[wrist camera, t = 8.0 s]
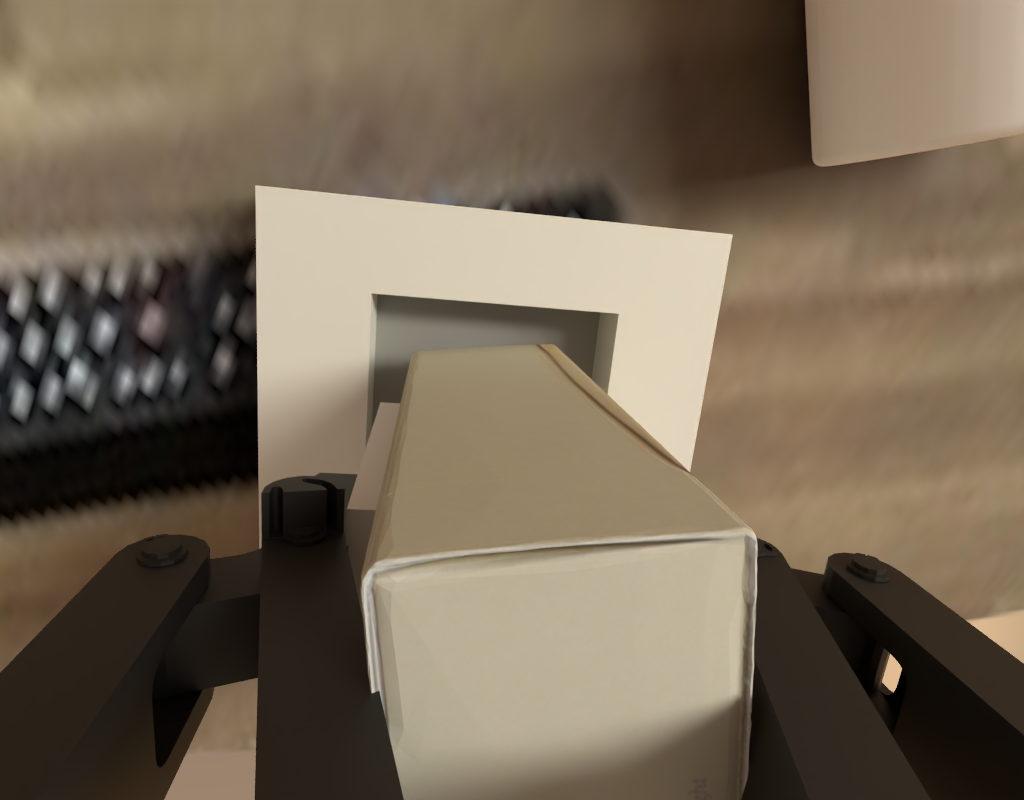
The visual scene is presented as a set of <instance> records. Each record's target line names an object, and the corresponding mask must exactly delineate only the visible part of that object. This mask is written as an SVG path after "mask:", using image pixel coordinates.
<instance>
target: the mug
mask: <svg viewBox="0 0 1024 800" xmlns="http://www.w3.org/2000/svg"><path fill="white" fill-rule="evenodd" d="M805 17H806V38H807V60H808V81H809V102H810V124H811V145H812V160H813V162H814V164H816V165H817V166H821V167H825V166H835V165H842V164H849V163H856V162H863V161H869V160H875V159H882V158H888V157H894V156H900V155H906V154H912V153H918V152H923V151H929V150H935V149H941V148H947V147H952V146H958V145H964V144H969V143H975V142H980V141H986V140H992V139H997V138H1003V137H1008V136H1014V135H1019V134H1024V0H805Z"/></svg>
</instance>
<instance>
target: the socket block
mask: <svg viewBox="0 0 1024 800" xmlns="http://www.w3.org/2000/svg"><path fill="white" fill-rule="evenodd" d="M255 187H256V284H257V382H258V479H259V549H261V546H262V519H261V493H262V491H263V489H264V487H265V486H267V485H269V484H270V483H272V482H274V481H277V480H280V479H284V478H287V477H296V476H315V475H317V474H319V473H340V474H358V472H359V469H360V466H361V462H362V459H363V456H364V453H365V450H366V446H367V443H368V440H369V437H370V434H371V431H372V427H373V424H374V421H375V418H376V415H377V412H378V408H379V405H380V402H384V403H401V399H402V394H403V390H404V386H405V382H406V377H407V373H408V369H409V364H410V359H411V357H412V355H413V354H414V353H416V352H419V351H429V350H443V349H457V348H475V347H492V346H512V345H541V344H553V345H555V346H557V347H558V348H559V349H560V350H561V351H562V352H563V353H564V354H565V355H566V356H567V357H568V358H569V359H570V360H572V361H573V362H574V363H575V364H576V365H577V366H578V367H579V368H580V369H581V370H582V371H583V372H584V373H585V374H586V375H587V376H588V377H590V378H591V379H592V380H593V381H594V382H595V383H596V384H597V385H598V386H599V387H600V388H602V389H603V390H604V391H605V392H606V393H607V394H608V395H609V396H610V397H611V398H612V399H613V400H614V401H615V402H616V403H617V404H618V405H619V406H620V407H621V408H623V409H624V410H625V411H626V412H627V413H628V414H629V415H630V416H631V417H632V418H633V419H634V420H635V421H636V422H637V423H639V424H640V425H641V426H642V427H643V428H644V429H645V430H646V431H647V432H648V433H649V434H650V435H651V436H652V437H653V438H654V439H656V440H657V441H658V442H659V443H660V444H661V445H662V446H663V447H664V448H665V449H666V450H667V451H668V452H669V453H670V454H671V455H672V456H673V457H675V458H676V459H677V460H678V461H679V462H680V463H681V464H682V465H683V466H684V467H685V468H686V469H687V470H688V471H689V472H690V468H691V463H692V457H693V452H694V446H695V441H696V435H697V430H698V424H699V419H700V413H701V408H702V402H703V397H704V391H705V385H706V380H707V374H708V369H709V363H710V358H711V352H712V347H713V341H714V336H715V330H716V325H717V319H718V314H719V308H720V303H721V297H722V292H723V286H724V281H725V275H726V269H727V264H728V258H729V253H730V247H731V242H732V236H733V235H731V234H722V233H712V232H702V231H693V230H683V229H673V228H664V227H654V226H644V225H635V224H625V223H615V222H605V221H596V220H586V219H576V218H567V217H557V216H547V215H538V214H528V213H518V212H509V211H499V210H489V209H480V208H470V207H460V206H450V205H441V204H431V203H421V202H412V201H402V200H392V199H383V198H373V197H363V196H354V195H344V194H334V193H324V192H315V191H305V190H295V189H286V188H276V187H266V186H257V185H255Z"/></svg>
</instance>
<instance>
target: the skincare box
mask: <svg viewBox="0 0 1024 800" xmlns="http://www.w3.org/2000/svg"><path fill="white" fill-rule="evenodd" d="M757 553H758V545H757V538H756V535H755V533H754V532H753V530H752V529H751V528H750V527H749V526H747V525H746V524H745V523H744V522H743V521H742V520H741V519H740V518H739V517H738V516H737V515H736V514H735V513H734V512H733V511H732V510H731V509H729V508H728V507H727V506H726V505H725V504H724V503H723V502H722V501H721V500H720V499H718V498H717V497H716V496H715V495H714V494H713V493H712V492H711V491H710V490H709V489H707V488H706V487H705V486H704V485H703V484H702V483H701V482H700V481H699V480H698V479H697V478H696V477H695V476H694V475H693V474H692V473H690V472H689V471H688V470H687V469H686V468H685V467H684V466H683V465H682V464H681V463H680V462H679V461H678V460H677V459H676V458H675V457H673V456H672V455H671V454H670V453H669V452H668V451H667V450H666V449H665V448H664V447H663V446H662V445H661V444H660V443H659V442H658V441H657V440H656V439H654V438H653V437H652V436H651V435H650V434H649V433H648V432H647V431H646V430H645V429H644V428H643V427H642V426H641V425H640V424H639V423H637V422H636V421H635V420H634V419H633V418H632V417H631V416H630V415H629V414H628V413H627V412H626V411H625V410H624V409H623V408H621V407H620V406H619V405H618V404H617V403H616V402H615V401H614V400H613V399H612V398H611V397H610V396H609V395H608V394H607V393H606V392H605V391H604V390H603V389H602V388H600V387H599V386H598V385H597V384H596V383H595V382H594V381H593V380H592V379H591V378H590V377H588V376H587V375H586V374H585V373H584V372H583V371H582V370H581V369H580V368H579V367H578V366H577V365H576V364H575V363H574V362H573V361H572V360H570V359H569V358H568V357H567V356H566V355H565V354H564V353H563V352H562V351H561V350H560V349H559V348H558V347H557V346H555V345H553V344H541V345H512V346H492V347H475V348H457V349H443V350H429V351H419V352H416V353H414V354H413V355H412V357H411V359H410V364H409V369H408V373H407V377H406V382H405V386H404V390H403V394H402V399H401V403H400V407H399V412H398V416H397V421H396V425H395V429H394V434H393V439H392V444H391V449H390V453H389V457H388V461H387V466H386V471H385V475H384V479H383V483H382V487H381V491H380V495H379V499H378V503H377V508H376V512H375V517H374V522H373V526H372V531H371V535H370V538H369V543H368V547H367V551H366V558H365V561H364V565H363V569H362V573H361V589H360V590H361V601H362V612H363V623H364V635H365V646H366V657H367V668H368V677H369V685H370V691H371V693H374V692H377V691H379V692H380V696H381V701H382V705H383V710H384V714H385V718H386V723H387V727H388V732H389V736H390V741H391V745H392V750H393V754H394V758H395V763H396V767H397V772H398V776H399V781H400V785H401V789H402V794H403V798H404V800H741V798H742V795H743V791H744V788H745V785H746V782H747V778H748V772H749V743H750V733H751V726H752V721H751V712H752V690H753V674H754V637H755V622H756V598H757Z"/></svg>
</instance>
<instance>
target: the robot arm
mask: <svg viewBox="0 0 1024 800" xmlns="http://www.w3.org/2000/svg"><path fill="white" fill-rule="evenodd" d="M399 407H400V403H384V402H380V405H379V408H378V412H377V415H376V418H375V421H374V424H373V427H372V431H371V434H370V437H369V440H368V443H367V446H366V450H365V453H364V456H363V459H362V462H361V466H360V469H359V472H358V474H340V473H319V474H317V475H315V476H296V477H287V478H284V479H280V480H277V481H274V482H272V483H270V484H269V485H267V486H265V487H264V489H263V491H262V493H261V519H262V546H261V549H259V550H256V551H253V552H250V553H247V554H242V555H237V556H231V557H224V558H216V559H210V548H209V546H208V545H207V543H206V542H205V541H203V540H201V539H199V538H196V537H193V536H186V535H168V534H163V535H156V537H154V536H152V537H148V538H145V539H143V540H141V541H138V542H136V543H133V544H131V545H128V546H127V547H125V548H124V549H122V550H121V551H120V552H118V553H117V554H116V555H115V556H114V557H113V558H112V559H111V560H110V561H109V562H108V563H107V564H106V565H105V566H104V567H103V568H102V569H101V570H100V571H99V572H98V573H97V574H96V575H95V576H94V577H93V578H92V579H91V580H90V581H89V582H88V583H87V584H86V585H85V586H84V587H83V589H82V590H81V591H80V592H79V593H78V594H77V595H76V596H75V597H74V598H73V599H72V600H71V601H70V602H69V603H68V604H67V605H66V606H65V607H64V608H63V609H62V610H61V611H60V612H59V613H58V614H57V615H56V616H55V617H54V618H53V619H52V620H51V621H50V622H49V623H48V624H47V625H46V626H45V628H44V629H43V630H42V631H41V632H40V633H39V634H38V635H37V636H36V637H35V638H34V639H33V640H32V641H31V642H30V643H29V644H28V645H27V646H26V647H25V648H24V649H23V650H22V651H21V652H20V653H19V654H18V655H17V656H16V657H15V658H14V659H13V660H12V661H11V662H10V663H9V664H8V665H7V666H6V668H5V669H4V670H3V671H2V672H1V673H0V800H164V798H165V796H166V794H167V792H168V790H169V788H170V786H171V784H172V781H173V779H174V777H175V775H176V773H177V771H178V769H179V767H180V765H181V763H182V760H183V758H184V756H185V754H186V752H187V750H188V748H189V746H190V744H191V742H192V740H193V737H194V735H195V733H196V731H197V729H198V727H199V725H200V723H201V721H202V718H203V716H204V714H205V712H206V710H207V708H208V706H209V704H210V702H211V700H212V696H213V691H214V687H217V686H222V685H226V684H231V683H235V682H240V681H244V680H249V679H254V678H258V699H257V737H256V777H255V800H404V798H403V794H402V789H401V785H400V781H399V776H398V772H397V767H396V763H395V758H394V754H393V750H392V745H391V741H390V736H389V732H388V727H387V723H386V718H385V714H384V710H383V705H382V701H381V696H380V692H379V691H377V692H374V693H371V691H370V685H369V677H368V668H367V657H366V646H365V635H364V623H363V612H362V601H361V590H360V589H361V573H362V569H363V565H364V561H365V558H366V551H367V547H368V543H369V538H370V535H371V531H372V526H373V522H374V517H375V512H376V508H377V503H378V499H379V495H380V491H381V487H382V483H383V479H384V475H385V471H386V466H387V461H388V457H389V453H390V449H391V444H392V439H393V434H394V429H395V425H396V421H397V416H398V412H399ZM757 545H758V553H757V598H756V622H755V637H754V674H753V690H752V712H751V721H752V726H751V733H750V743H749V772H748V778H747V782H746V785H745V788H744V791H743V795H742V798H741V800H1024V664H1023V663H1022V662H1020V661H1019V660H1018V659H1017V658H1015V657H1014V656H1013V655H1011V654H1010V653H1009V652H1007V651H1006V650H1004V649H1003V648H1002V647H1000V646H999V645H998V644H996V643H995V642H994V641H992V640H991V639H990V638H988V637H987V636H986V635H984V634H983V633H982V632H980V631H979V630H978V629H976V628H975V627H974V626H972V625H971V624H970V623H968V622H967V621H966V620H964V619H963V618H962V617H960V616H959V615H958V614H956V613H955V612H954V611H952V610H951V609H950V608H948V607H947V606H946V605H944V604H943V603H942V602H940V601H939V600H938V599H936V598H935V597H934V596H932V595H931V594H930V593H928V592H927V591H926V590H924V589H923V588H922V587H920V586H919V585H918V584H916V583H915V582H914V581H912V580H911V579H910V578H908V577H907V576H906V575H904V574H903V573H902V572H900V571H898V570H897V569H895V568H893V567H892V566H890V565H888V564H886V563H884V562H881V561H879V560H878V559H877V558H875V557H872V556H869V555H867V556H866V555H865V554H860V553H856V554H851V553H836V554H833V555H831V556H830V557H828V561H827V565H826V569H825V573H824V575H823V574H818V573H812V572H807V571H802V570H797V569H792V568H790V566H789V565H788V563H787V561H786V560H785V558H784V556H783V555H782V553H781V552H780V551H779V550H778V549H777V548H776V547H774V546H773V545H772V544H770V543H767V542H766V541H763V540H761V539H758V538H757ZM890 654H891V655H892V656H893V657H894V658H895V659H896V660H897V661H898V663H899V664H900V665H901V667H902V672H901V675H900V678H899V682H898V685H897V688H896V690H895V691H894V693H893V692H891V691H890V690H889V689H888V688H887V687H886V686H885V685H884V684H883V683H882V679H883V676H884V672H885V669H886V666H887V662H888V659H889V655H890Z"/></svg>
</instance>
